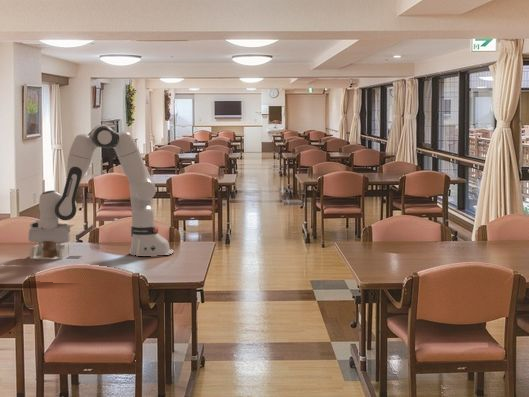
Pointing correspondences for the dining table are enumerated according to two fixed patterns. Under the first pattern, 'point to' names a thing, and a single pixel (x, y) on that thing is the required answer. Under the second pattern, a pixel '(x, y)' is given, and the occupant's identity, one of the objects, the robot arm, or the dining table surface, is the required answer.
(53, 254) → the block
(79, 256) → the coaster
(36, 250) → the box
